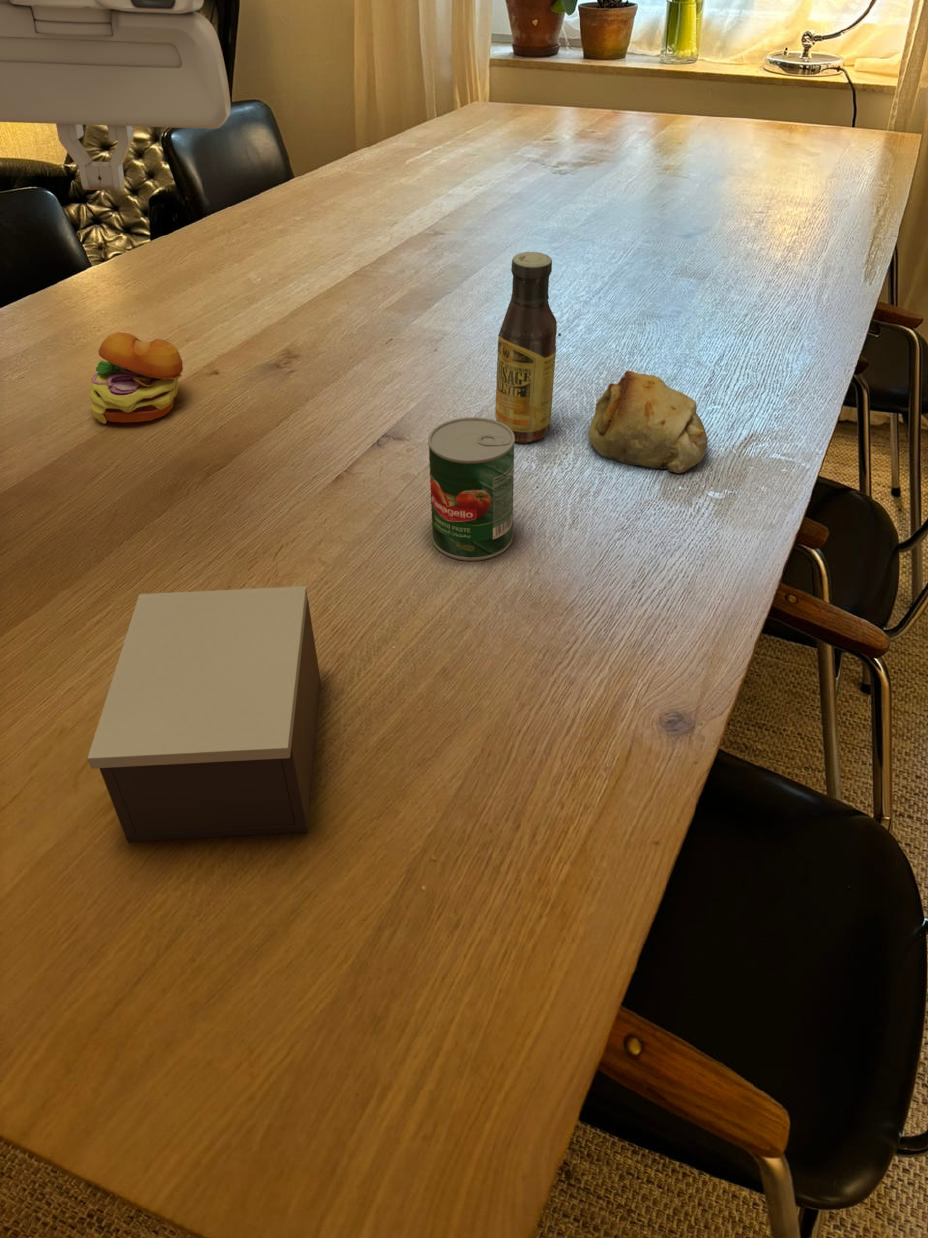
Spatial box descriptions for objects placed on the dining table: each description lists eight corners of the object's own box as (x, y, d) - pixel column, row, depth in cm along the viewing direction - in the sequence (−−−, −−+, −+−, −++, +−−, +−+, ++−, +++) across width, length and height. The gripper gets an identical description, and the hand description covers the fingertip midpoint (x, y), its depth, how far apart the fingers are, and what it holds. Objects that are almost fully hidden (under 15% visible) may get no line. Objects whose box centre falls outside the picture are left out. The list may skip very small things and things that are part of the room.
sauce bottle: (484, 430, 113) (483, 255, 100) (524, 412, 116) (528, 240, 103) (523, 452, 109) (527, 273, 96) (564, 433, 112) (573, 257, 99)
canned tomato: (426, 558, 94) (420, 457, 87) (438, 512, 100) (434, 414, 93) (509, 564, 93) (510, 462, 86) (517, 517, 99) (518, 418, 92)
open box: (307, 832, 70) (291, 747, 64) (127, 842, 69) (94, 757, 64) (320, 679, 82) (307, 596, 76) (166, 687, 81) (142, 604, 76)
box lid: (290, 758, 63) (287, 747, 63) (90, 768, 63) (86, 758, 62) (307, 595, 76) (306, 585, 75) (142, 603, 76) (139, 593, 75)
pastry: (565, 427, 113) (569, 361, 108) (662, 406, 116) (670, 341, 111) (624, 489, 103) (631, 420, 98) (728, 464, 106) (740, 396, 101)
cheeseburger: (73, 408, 118) (70, 324, 113) (156, 399, 125) (156, 320, 120) (112, 438, 112) (110, 351, 107) (197, 427, 119) (199, 344, 114)
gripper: (-101, -30, 66) (-50, 192, 74) (213, -16, 68) (231, 199, 75) (-67, -31, 71) (-22, 177, 79) (223, -18, 73) (239, 184, 81)
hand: (104, 188), depth 77 cm, fingers closed
